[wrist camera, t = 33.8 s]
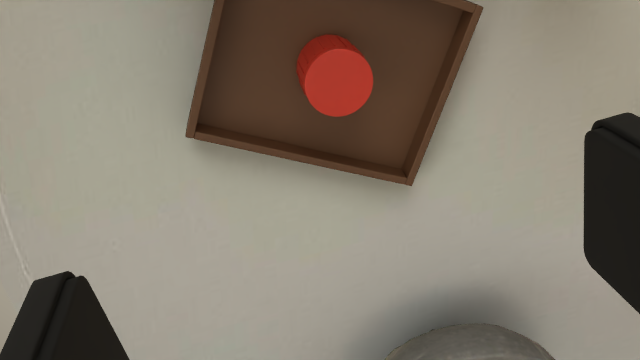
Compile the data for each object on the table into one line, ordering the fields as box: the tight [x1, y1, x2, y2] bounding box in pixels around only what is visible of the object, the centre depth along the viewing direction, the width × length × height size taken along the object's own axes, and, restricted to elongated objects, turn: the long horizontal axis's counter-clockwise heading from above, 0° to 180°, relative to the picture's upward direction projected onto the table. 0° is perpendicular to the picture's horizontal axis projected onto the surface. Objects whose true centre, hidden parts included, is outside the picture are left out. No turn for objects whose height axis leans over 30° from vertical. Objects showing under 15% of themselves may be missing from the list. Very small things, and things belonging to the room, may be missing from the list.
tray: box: [186, 0, 483, 186], centre depth 34 cm, size 15×12×2 cm
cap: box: [296, 34, 373, 117], centre depth 33 cm, size 4×4×4 cm
